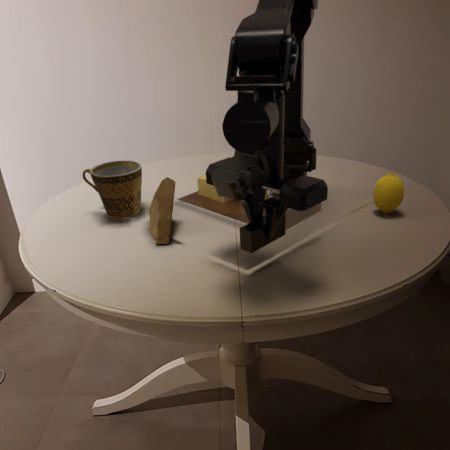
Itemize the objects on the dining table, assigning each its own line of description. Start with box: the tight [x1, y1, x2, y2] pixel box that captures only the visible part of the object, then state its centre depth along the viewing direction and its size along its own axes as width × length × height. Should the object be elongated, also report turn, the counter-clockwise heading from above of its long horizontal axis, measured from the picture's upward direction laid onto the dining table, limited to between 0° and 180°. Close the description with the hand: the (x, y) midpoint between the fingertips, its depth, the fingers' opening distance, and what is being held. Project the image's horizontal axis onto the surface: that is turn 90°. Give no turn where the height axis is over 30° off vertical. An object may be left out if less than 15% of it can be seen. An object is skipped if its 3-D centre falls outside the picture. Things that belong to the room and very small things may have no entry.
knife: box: [239, 202, 322, 254], centre depth 75 cm, size 19×2×4 cm, turn 136°
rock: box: [147, 176, 176, 245], centre depth 87 cm, size 11×9×10 cm
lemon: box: [372, 172, 405, 215], centre depth 89 cm, size 6×6×8 cm
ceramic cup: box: [82, 160, 143, 223], centre depth 94 cm, size 13×10×10 cm
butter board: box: [176, 190, 290, 224], centre depth 98 cm, size 14×22×1 cm, turn 46°
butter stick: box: [196, 173, 231, 203], centre depth 100 cm, size 5×8×4 cm, turn 46°
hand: (263, 235), depth 72 cm, fingers closed on knife, 2 cm apart
